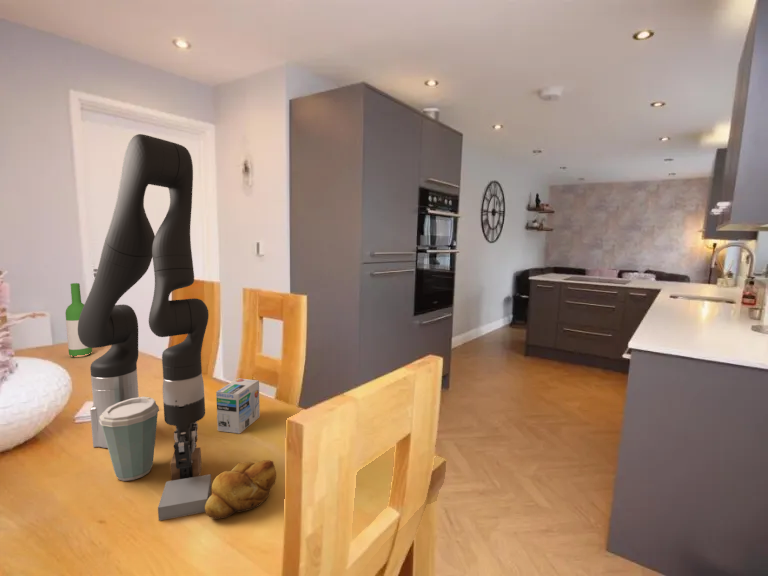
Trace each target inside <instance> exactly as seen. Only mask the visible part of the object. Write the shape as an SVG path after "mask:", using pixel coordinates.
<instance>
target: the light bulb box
mask: <svg viewBox="0 0 768 576" xmlns="http://www.w3.org/2000/svg"><path fill="white" fill-rule="evenodd" d="M215 393H216V395H215V396H216V398H215V399H216V423H217V431H218V432H225V433H234V434H241V433H242V432H244V431H245V430H246V429H247V428H248V427H250V426H251V425H252V424H253V423H255V421H257V420H258V419H259V418H260V416H261V415H260V414H261V413H260V412H261V411H260V381H259V380H258V379H257V380H255V379H246V378H236V379H235V380H233V381H231V382H230V383H228V384H227V385H224V386H223V387H221V388H220V389H218V390H217V391H216V392H215Z"/></svg>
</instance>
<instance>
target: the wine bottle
mask: <svg viewBox="0 0 768 576" xmlns="http://www.w3.org/2000/svg"><path fill="white" fill-rule="evenodd" d="M80 285H81V284H80V283H77V282H74V283H70V294H71V295H70V297H71V303H70V304H69V305H68V306H67V307H66V310H65V325H66V335H67V336H66V337H67V338H66V339H67V346H68V347H67V348H68V355H72V356H77V355H85V354H89V353H91V352H92V353H93V348H89V347H86V346H84V345H83V344H82V343H81V341H80V339H79V336H78V321H79V318H80V314H81V312H82V309H83V307H84V304H85V303H83V302H82V296H81V295H82V294H81V286H80Z"/></svg>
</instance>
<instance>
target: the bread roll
mask: <svg viewBox="0 0 768 576" xmlns="http://www.w3.org/2000/svg"><path fill="white" fill-rule="evenodd" d="M274 463H275V462H274V461H273V460H270V459H266V460H261V461H258V462H251V461H245V462H238V463H237V464H236V465H235V466H234V467H233V468H232V469H231V470H225V471H222V472H221V473H220V474H218V475H217V476H216V477H215V478H214V479H213V480H212V482H211V493H210V497H209V498H208V500H207V501H206V504H205V511H206V512H205V513H206V516H208V517H209V518H211V519H225V518H227V517H230V516H233V514H235V513H237V512H245V511H249V510H252V509H255V508H258V507H259V506H260V505H262V504H263V503H264V502H265V501H266V500H267V499H268V498H269V496H270V492H271V489H272V487H273V486H274V485H275V483H276V482H277V471H276V467H275V464H274Z"/></svg>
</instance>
